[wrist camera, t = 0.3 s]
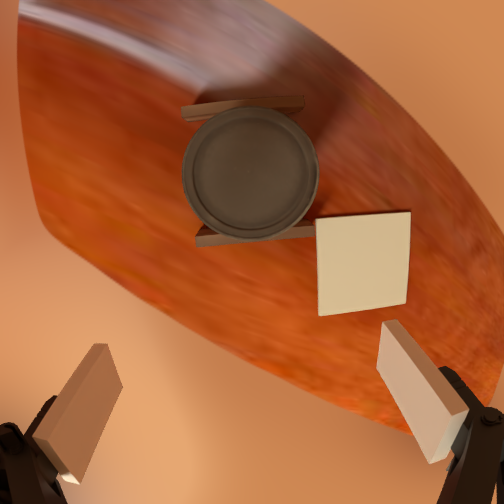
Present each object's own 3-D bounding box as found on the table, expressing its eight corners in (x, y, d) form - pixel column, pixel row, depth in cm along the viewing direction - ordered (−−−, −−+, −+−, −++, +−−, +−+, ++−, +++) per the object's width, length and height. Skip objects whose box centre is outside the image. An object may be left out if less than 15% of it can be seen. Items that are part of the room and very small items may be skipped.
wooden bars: (187, 112, 34) (180, 106, 31) (297, 102, 34) (303, 95, 30) (201, 238, 39) (196, 247, 35) (307, 228, 39) (314, 236, 35)
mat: (315, 218, 38) (316, 219, 38) (408, 211, 38) (410, 212, 38) (318, 314, 42) (318, 316, 41) (404, 301, 42) (405, 303, 41)
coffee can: (207, 214, 38) (186, 244, 24) (202, 128, 35) (178, 109, 21) (293, 211, 38) (319, 239, 24) (291, 125, 35) (317, 105, 22)
